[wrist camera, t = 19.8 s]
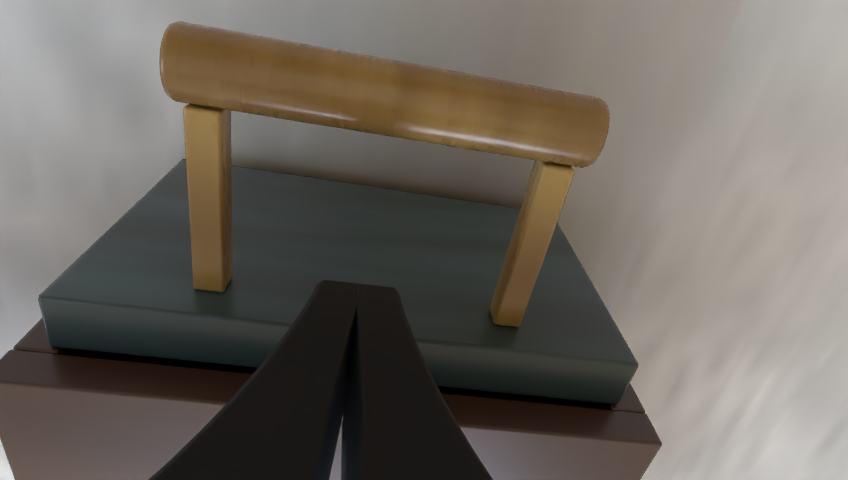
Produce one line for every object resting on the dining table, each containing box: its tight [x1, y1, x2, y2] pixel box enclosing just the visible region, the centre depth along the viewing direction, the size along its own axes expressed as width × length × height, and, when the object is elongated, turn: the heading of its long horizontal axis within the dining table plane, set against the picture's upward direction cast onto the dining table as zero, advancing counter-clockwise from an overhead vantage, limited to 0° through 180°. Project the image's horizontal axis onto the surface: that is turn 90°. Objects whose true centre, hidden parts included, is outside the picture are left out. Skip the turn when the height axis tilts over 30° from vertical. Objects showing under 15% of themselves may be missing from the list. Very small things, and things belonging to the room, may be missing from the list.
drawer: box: [38, 21, 638, 404], centre depth 14 cm, size 18×11×7 cm, turn 170°
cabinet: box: [0, 318, 662, 480], centre depth 16 cm, size 15×13×9 cm
